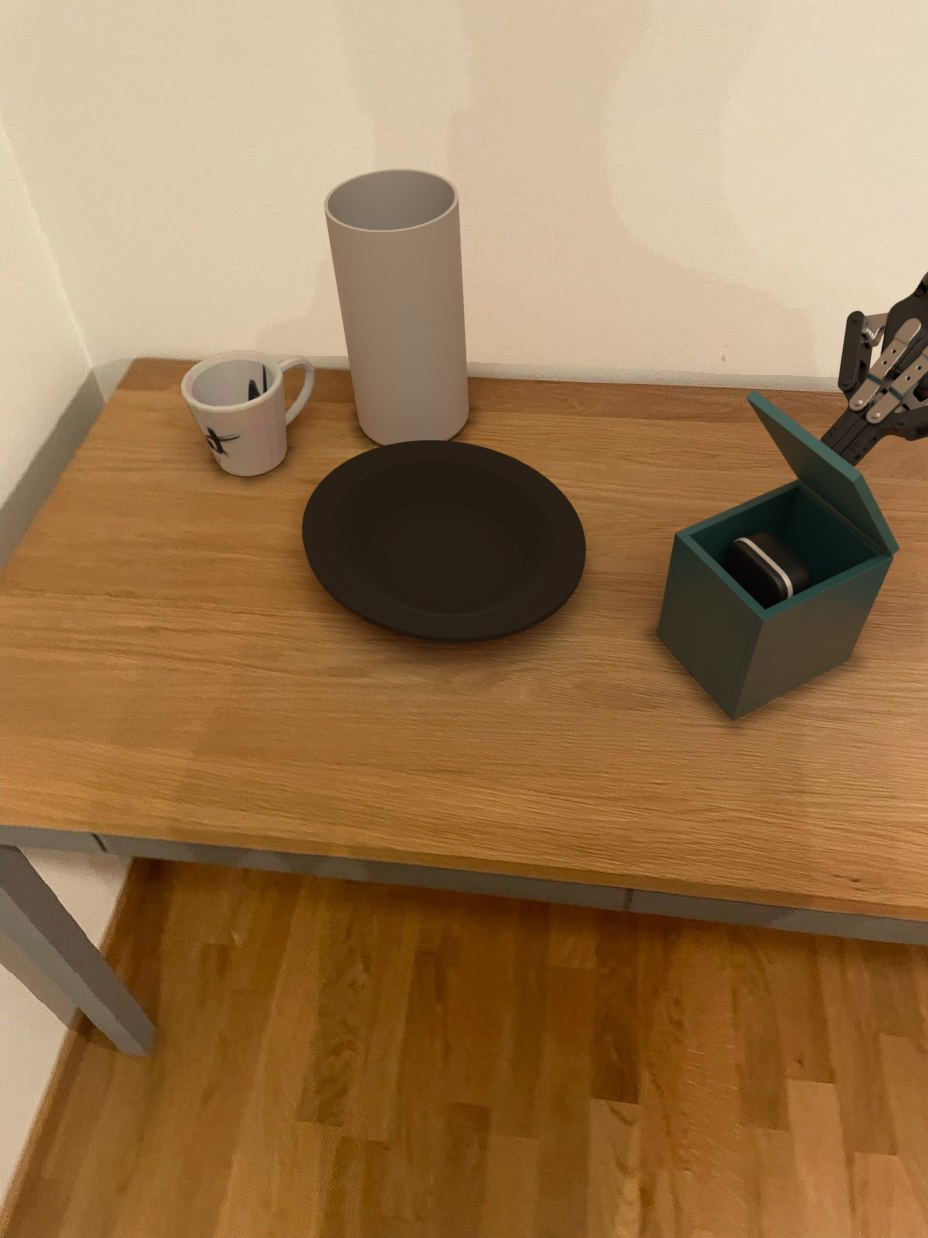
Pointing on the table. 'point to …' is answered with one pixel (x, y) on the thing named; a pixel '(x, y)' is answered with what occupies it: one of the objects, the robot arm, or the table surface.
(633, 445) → the table surface
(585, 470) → the table surface
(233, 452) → the mug
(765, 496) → the tray box
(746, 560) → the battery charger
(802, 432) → the cover
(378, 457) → the plate
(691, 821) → the table surface
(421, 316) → the cylinder vase
